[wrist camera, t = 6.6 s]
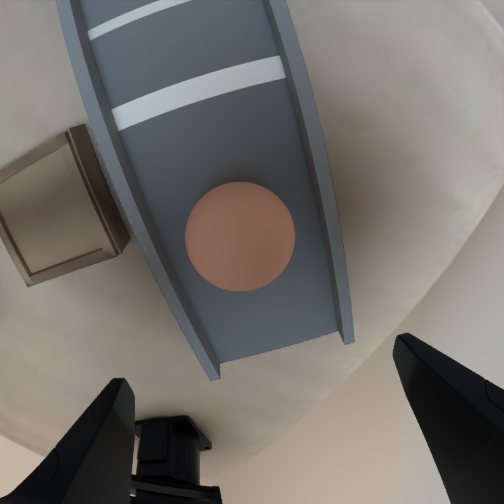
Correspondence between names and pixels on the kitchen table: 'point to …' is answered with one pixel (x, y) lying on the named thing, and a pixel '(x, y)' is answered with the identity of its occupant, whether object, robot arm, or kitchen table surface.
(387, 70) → the kitchen table surface
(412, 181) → the kitchen table surface
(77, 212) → the square wooden tray
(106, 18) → the lane
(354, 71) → the kitchen table surface
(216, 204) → the ball
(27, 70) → the kitchen table surface
